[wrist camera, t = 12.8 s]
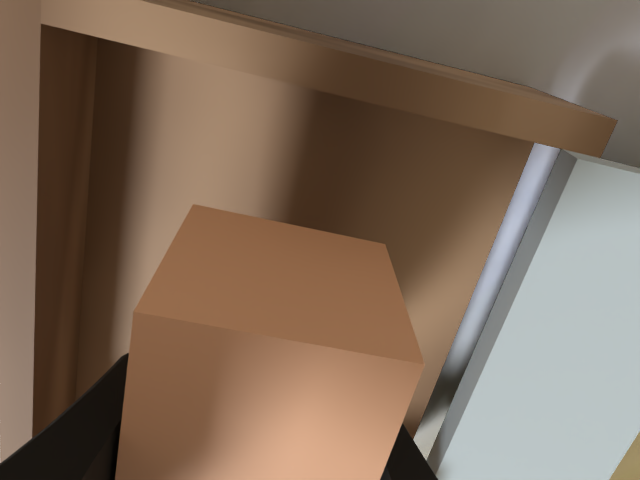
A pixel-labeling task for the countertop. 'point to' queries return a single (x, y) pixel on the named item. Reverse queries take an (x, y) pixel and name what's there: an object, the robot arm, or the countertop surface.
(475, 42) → the countertop surface
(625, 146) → the countertop surface
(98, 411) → the robot arm
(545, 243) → the pale grey board
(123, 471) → the block
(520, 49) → the countertop surface
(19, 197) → the wooden tray
